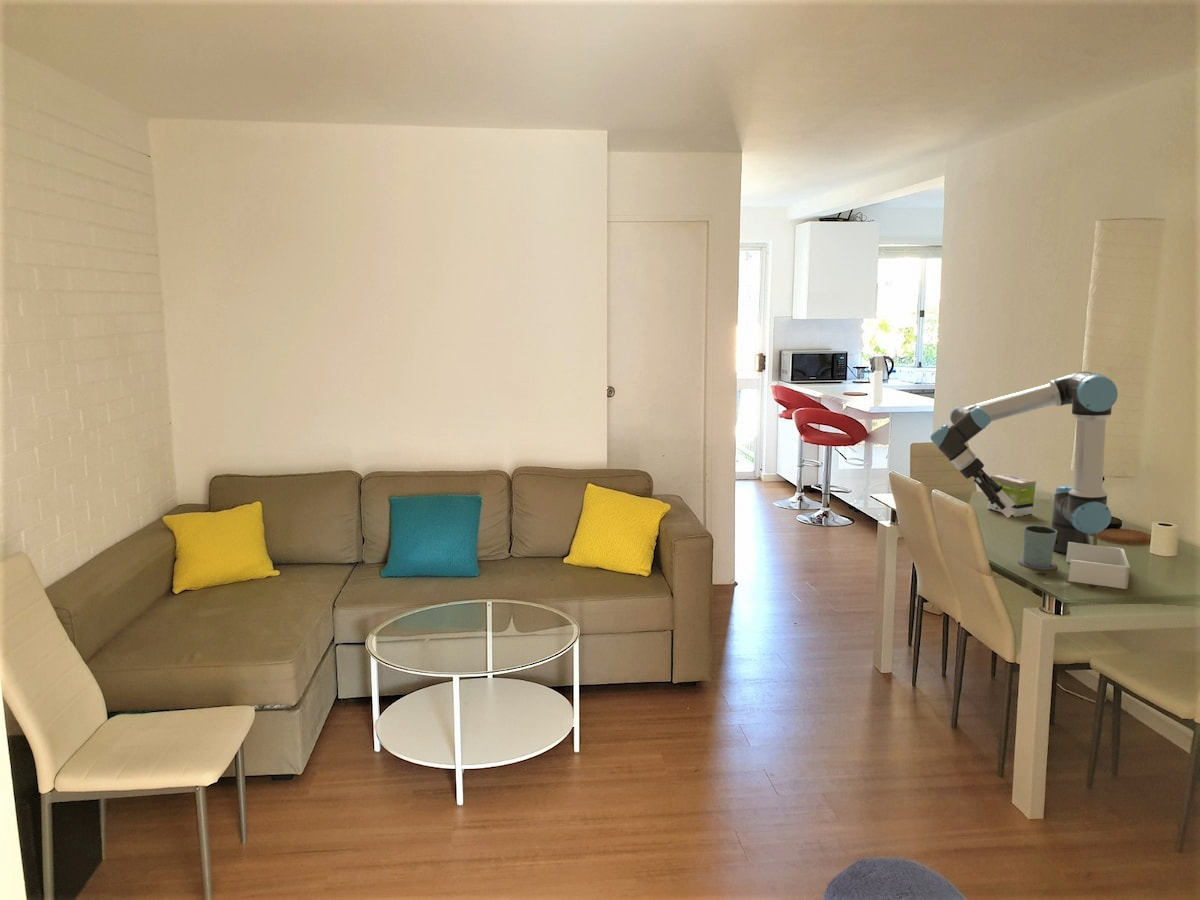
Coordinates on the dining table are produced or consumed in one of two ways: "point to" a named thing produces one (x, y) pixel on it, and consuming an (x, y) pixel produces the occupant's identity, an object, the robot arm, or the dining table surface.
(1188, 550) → the dining table surface
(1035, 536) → the blue plant pot
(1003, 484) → the tea box
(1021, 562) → the coaster
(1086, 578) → the open-front crate
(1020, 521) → the dining table surface
